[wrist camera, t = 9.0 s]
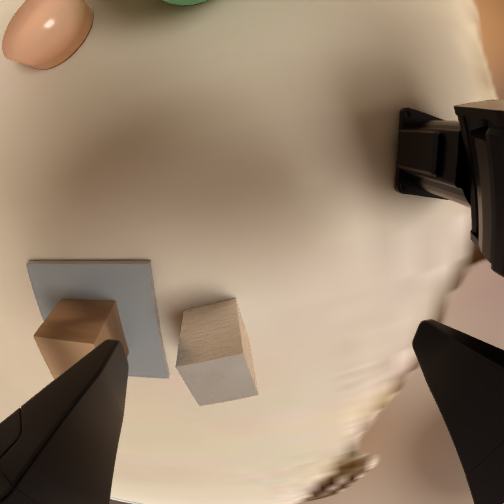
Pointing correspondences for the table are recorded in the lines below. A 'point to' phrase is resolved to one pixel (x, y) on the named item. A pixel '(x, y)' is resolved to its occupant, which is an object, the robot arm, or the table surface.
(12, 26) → the peach egg shape
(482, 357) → the robot arm
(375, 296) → the table surface
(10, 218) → the table surface
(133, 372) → the slate coaster
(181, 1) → the mug
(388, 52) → the table surface
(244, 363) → the light wood block
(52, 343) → the walnut block
